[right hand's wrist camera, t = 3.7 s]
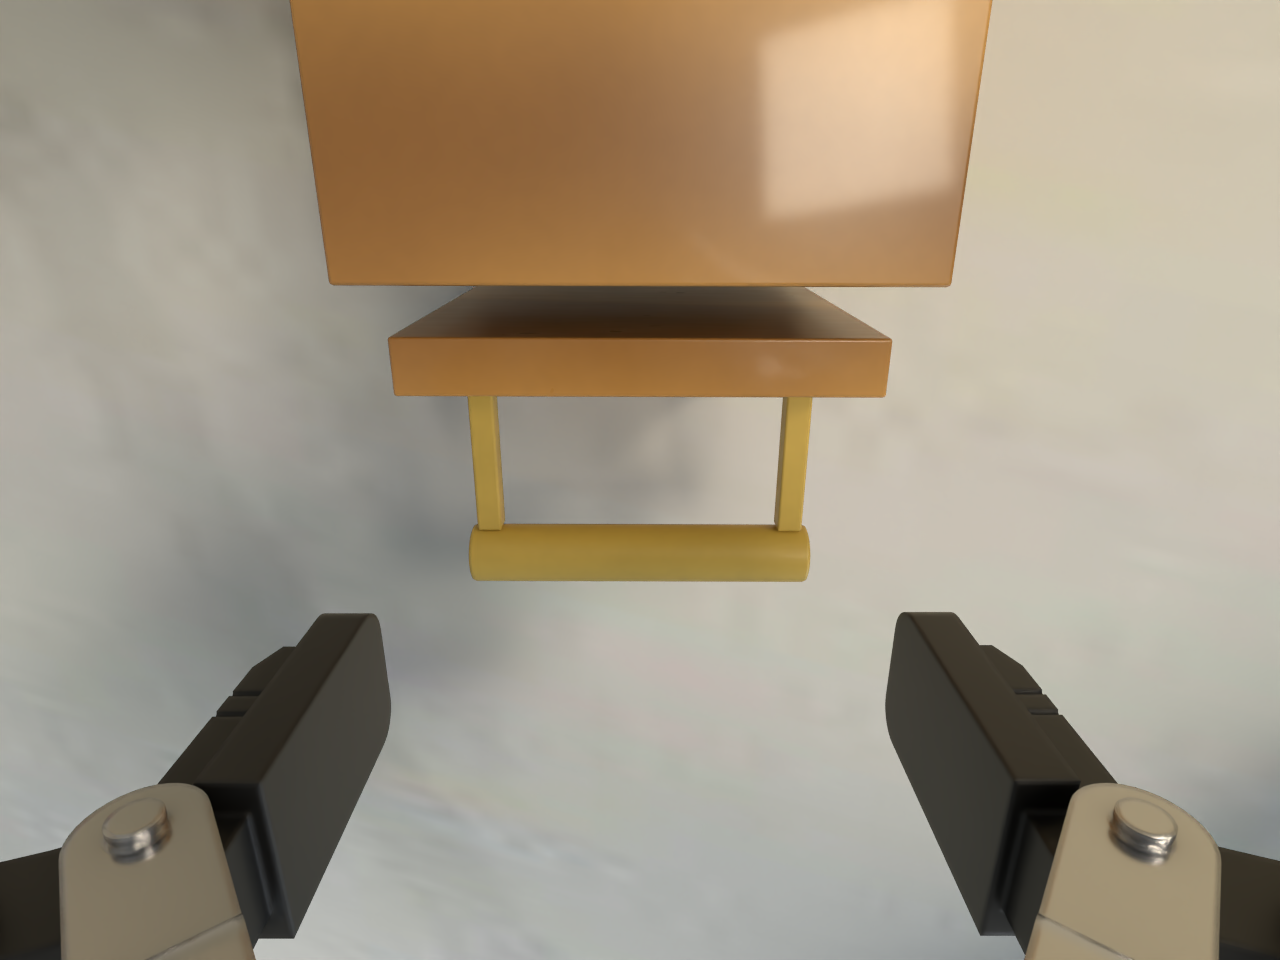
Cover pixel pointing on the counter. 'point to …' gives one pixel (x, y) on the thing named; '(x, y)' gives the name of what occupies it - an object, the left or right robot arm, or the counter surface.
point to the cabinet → (640, 140)
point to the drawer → (639, 367)
